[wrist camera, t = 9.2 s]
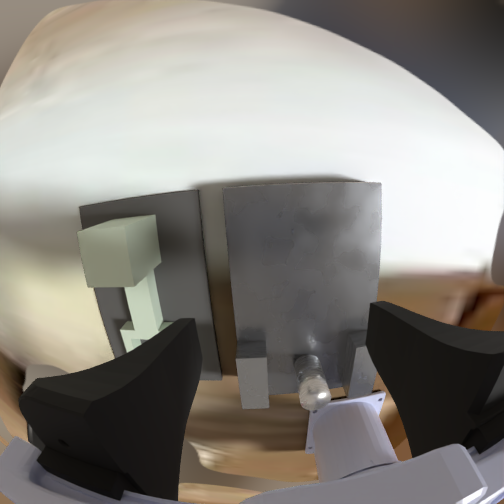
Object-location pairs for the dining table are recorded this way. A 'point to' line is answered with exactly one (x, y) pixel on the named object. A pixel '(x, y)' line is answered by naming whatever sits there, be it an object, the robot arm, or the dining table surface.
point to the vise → (303, 287)
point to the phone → (35, 439)
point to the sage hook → (126, 270)
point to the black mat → (164, 269)
